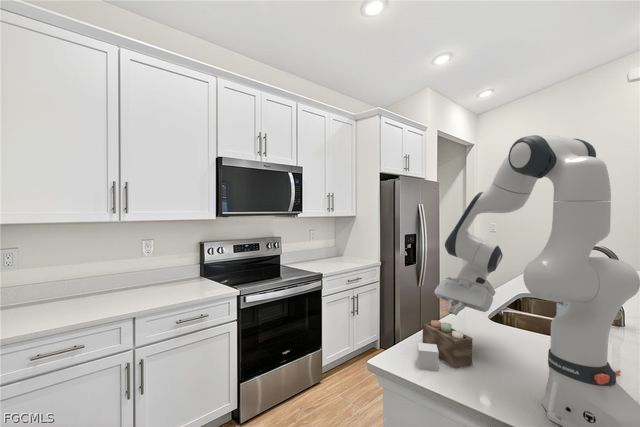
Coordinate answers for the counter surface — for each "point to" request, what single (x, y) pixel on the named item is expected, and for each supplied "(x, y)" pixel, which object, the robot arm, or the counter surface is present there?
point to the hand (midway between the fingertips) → (451, 313)
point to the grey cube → (428, 356)
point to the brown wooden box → (449, 346)
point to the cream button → (457, 334)
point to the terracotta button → (435, 323)
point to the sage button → (446, 327)
